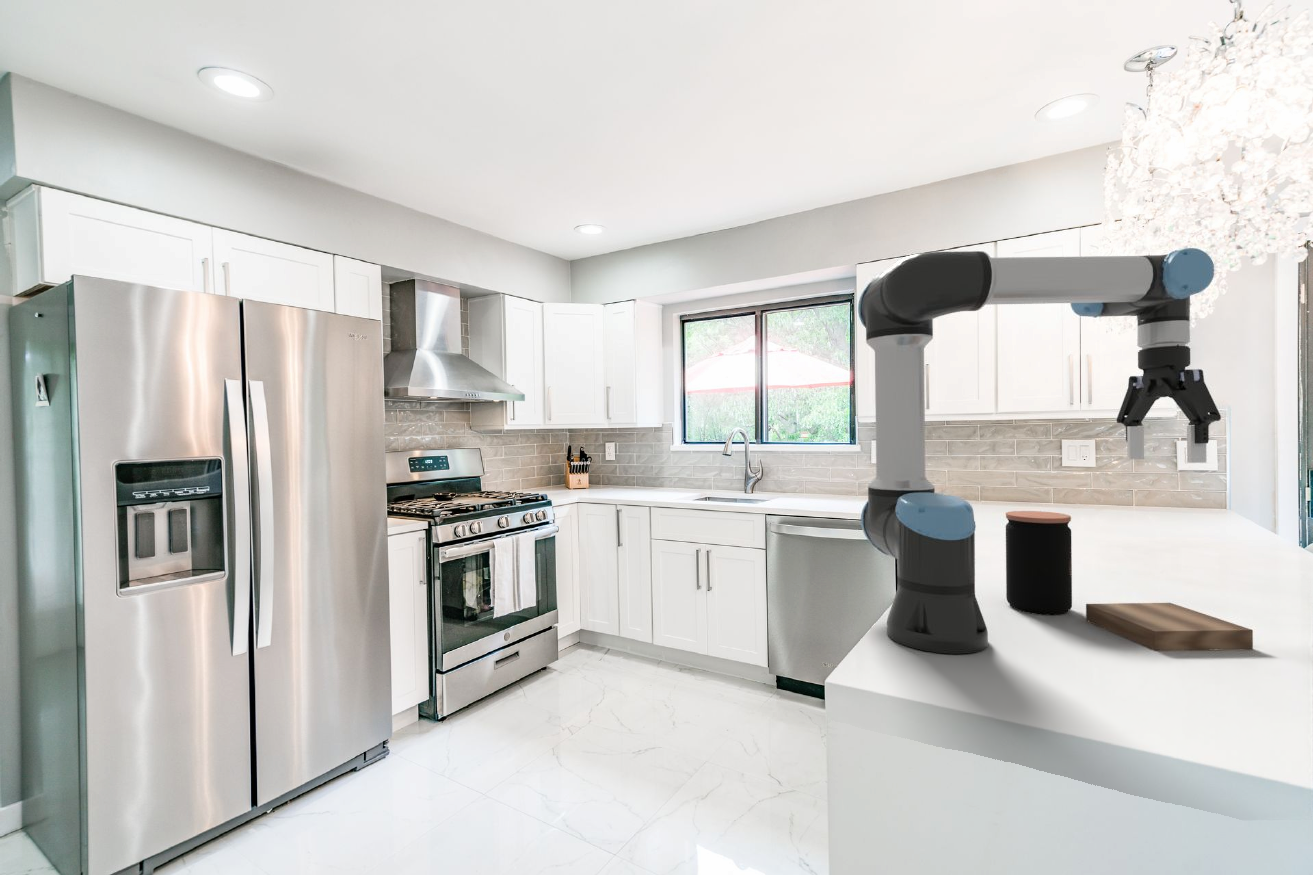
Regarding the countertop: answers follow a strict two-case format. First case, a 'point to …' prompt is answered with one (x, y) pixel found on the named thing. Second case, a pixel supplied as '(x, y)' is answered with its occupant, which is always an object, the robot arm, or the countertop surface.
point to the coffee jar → (1039, 562)
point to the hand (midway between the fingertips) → (1164, 461)
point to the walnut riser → (1169, 626)
